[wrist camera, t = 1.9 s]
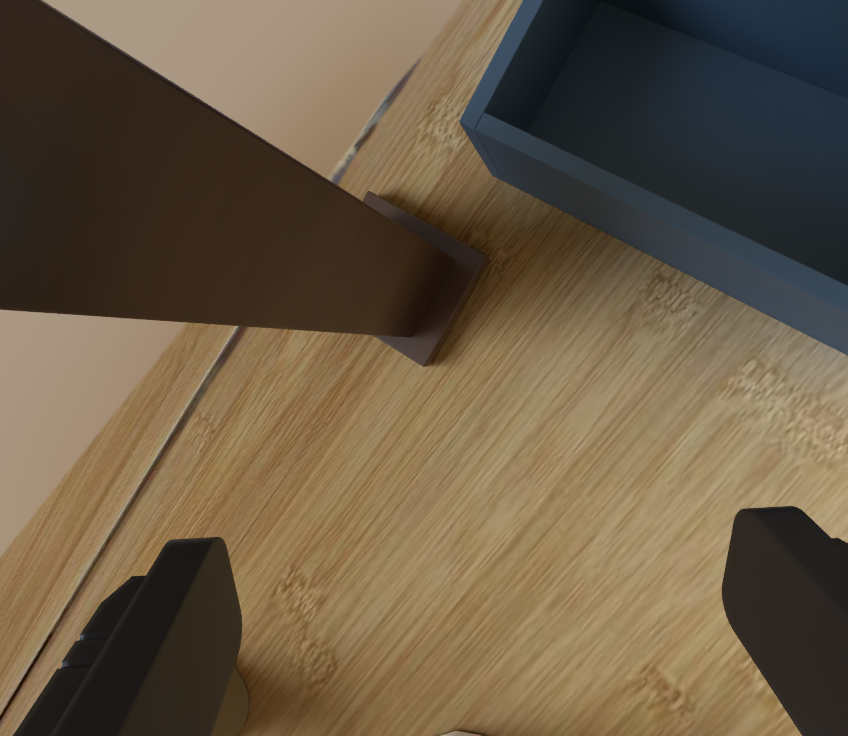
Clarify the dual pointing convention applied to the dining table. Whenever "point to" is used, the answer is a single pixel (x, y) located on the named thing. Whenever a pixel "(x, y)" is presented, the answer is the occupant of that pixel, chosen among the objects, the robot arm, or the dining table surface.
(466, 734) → the white cup
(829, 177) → the bin
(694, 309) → the dining table surface
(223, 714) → the olive game pawn
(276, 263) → the stand
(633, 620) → the dining table surface
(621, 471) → the dining table surface
